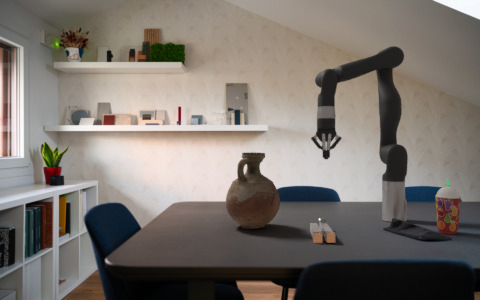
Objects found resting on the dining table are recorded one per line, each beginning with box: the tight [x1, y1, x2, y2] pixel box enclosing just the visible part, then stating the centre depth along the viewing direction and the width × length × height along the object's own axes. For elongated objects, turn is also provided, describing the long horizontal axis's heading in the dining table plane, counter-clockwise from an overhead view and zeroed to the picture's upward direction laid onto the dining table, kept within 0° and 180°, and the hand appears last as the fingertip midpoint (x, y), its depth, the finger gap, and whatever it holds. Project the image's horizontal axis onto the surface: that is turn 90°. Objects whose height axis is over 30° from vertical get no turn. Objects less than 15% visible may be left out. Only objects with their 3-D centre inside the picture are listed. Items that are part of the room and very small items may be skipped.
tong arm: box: [319, 222, 336, 244], centre depth 134 cm, size 19×3×3 cm, turn 176°
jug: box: [225, 151, 281, 230], centre depth 151 cm, size 22×22×30 cm
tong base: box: [309, 217, 327, 244], centre depth 136 cm, size 22×6×4 cm, turn 173°
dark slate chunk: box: [383, 218, 452, 241], centre depth 139 cm, size 15×22×5 cm
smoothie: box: [434, 178, 462, 235], centre depth 141 cm, size 8×8×20 cm
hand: (326, 159), depth 158 cm, fingers closed
